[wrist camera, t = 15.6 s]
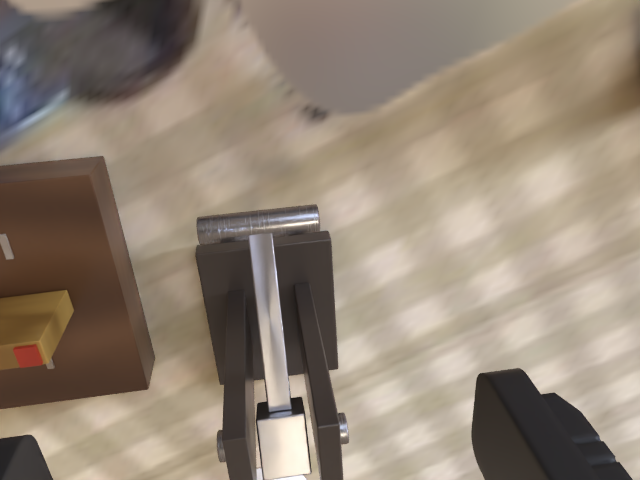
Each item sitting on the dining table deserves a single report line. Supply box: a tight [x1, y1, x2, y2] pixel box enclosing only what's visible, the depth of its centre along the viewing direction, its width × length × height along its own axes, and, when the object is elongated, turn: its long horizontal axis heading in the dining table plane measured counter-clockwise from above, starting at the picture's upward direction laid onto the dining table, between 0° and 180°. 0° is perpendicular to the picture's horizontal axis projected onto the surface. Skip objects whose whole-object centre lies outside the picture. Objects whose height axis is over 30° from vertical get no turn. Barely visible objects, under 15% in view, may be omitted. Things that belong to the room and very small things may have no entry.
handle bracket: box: [196, 231, 349, 480], centre depth 29 cm, size 10×8×13 cm
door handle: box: [197, 204, 320, 480], centre depth 25 cm, size 12×6×2 cm, turn 3°
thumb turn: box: [0, 290, 74, 370], centre depth 27 cm, size 4×1×5 cm, turn 94°
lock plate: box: [0, 156, 155, 409], centre depth 31 cm, size 14×10×3 cm
